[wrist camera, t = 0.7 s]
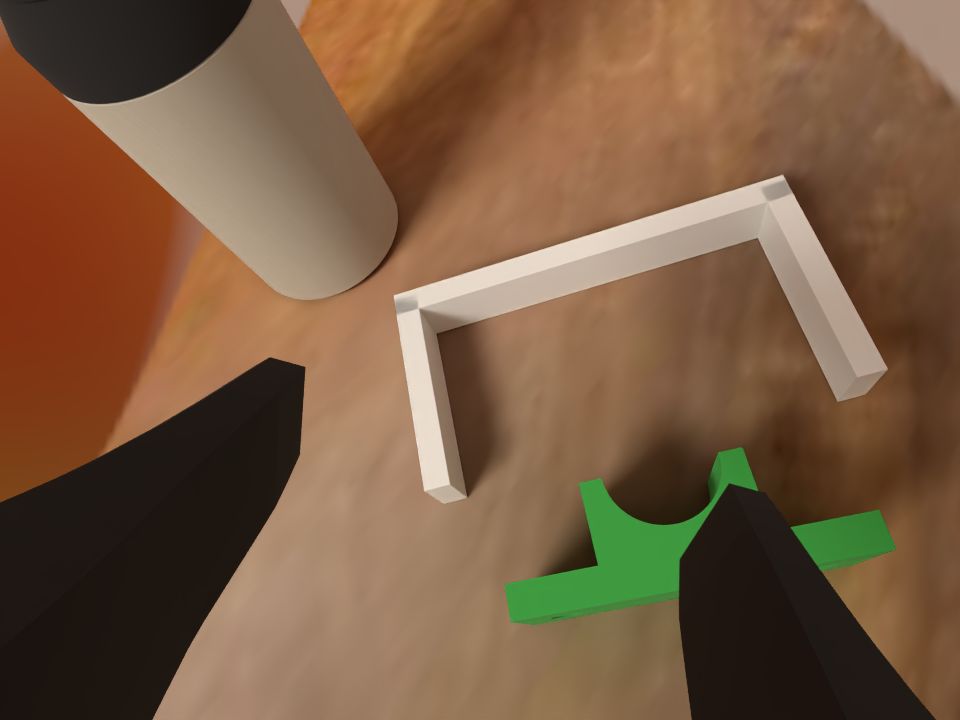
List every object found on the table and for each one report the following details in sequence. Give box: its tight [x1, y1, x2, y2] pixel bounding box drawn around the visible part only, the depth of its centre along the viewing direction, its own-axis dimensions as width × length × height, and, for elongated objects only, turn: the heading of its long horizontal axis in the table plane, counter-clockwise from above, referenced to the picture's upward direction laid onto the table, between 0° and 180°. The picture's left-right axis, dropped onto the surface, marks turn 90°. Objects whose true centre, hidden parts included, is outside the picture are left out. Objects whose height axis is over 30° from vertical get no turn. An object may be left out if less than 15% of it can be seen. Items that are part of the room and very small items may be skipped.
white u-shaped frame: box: [394, 175, 888, 504], centre depth 25 cm, size 9×17×2 cm, turn 102°
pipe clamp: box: [505, 447, 896, 625], centre depth 21 cm, size 11×4×5 cm, turn 100°
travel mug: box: [0, 0, 398, 300], centre depth 25 cm, size 8×8×18 cm
